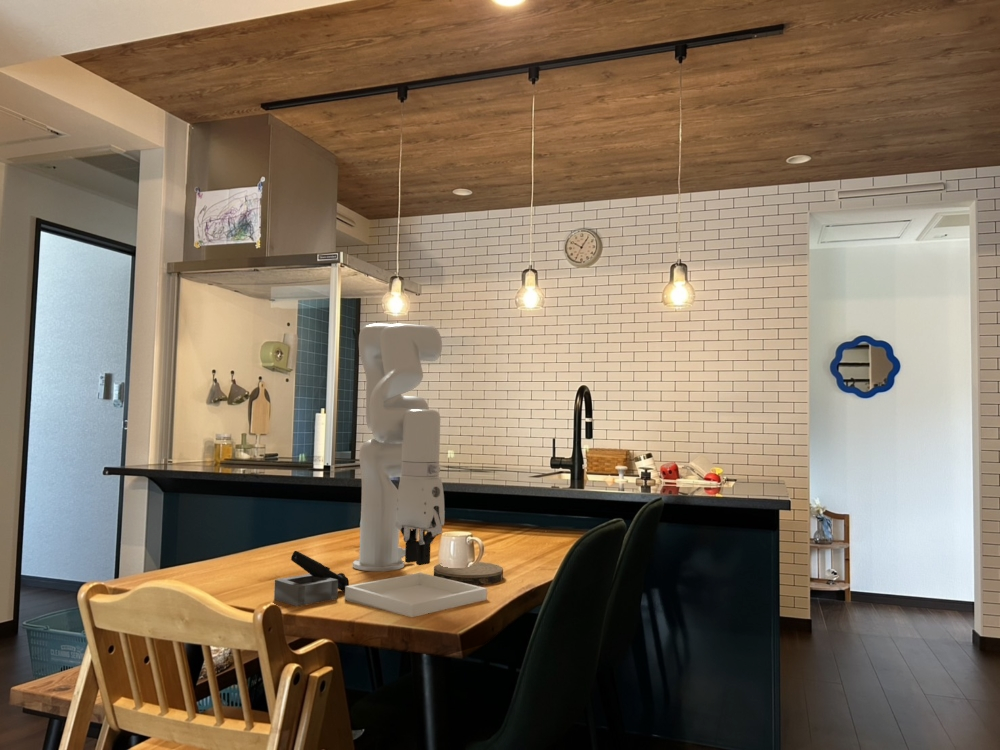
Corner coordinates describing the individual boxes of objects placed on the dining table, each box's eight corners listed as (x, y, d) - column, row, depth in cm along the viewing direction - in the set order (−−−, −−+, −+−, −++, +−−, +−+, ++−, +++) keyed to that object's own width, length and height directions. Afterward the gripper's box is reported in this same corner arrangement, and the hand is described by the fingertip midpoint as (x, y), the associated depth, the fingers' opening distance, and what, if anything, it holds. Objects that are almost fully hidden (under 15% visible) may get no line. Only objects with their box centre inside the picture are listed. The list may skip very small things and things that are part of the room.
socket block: (313, 592, 159) (314, 573, 159) (337, 600, 153) (338, 579, 153) (274, 600, 152) (275, 579, 152) (297, 607, 146) (298, 586, 147)
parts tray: (419, 586, 167) (420, 572, 167) (486, 603, 154) (487, 588, 154) (344, 601, 152) (345, 586, 152) (411, 621, 139) (412, 604, 139)
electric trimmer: (283, 561, 152) (291, 547, 153) (337, 588, 162) (345, 574, 163) (292, 567, 149) (301, 552, 150) (347, 594, 159) (355, 579, 160)
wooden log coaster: (465, 571, 186) (465, 558, 187) (516, 581, 176) (517, 568, 177) (418, 581, 174) (419, 567, 174) (471, 592, 164) (471, 578, 164)
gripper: (461, 472, 152) (459, 566, 151) (407, 467, 162) (405, 555, 161) (434, 473, 146) (431, 571, 145) (380, 468, 157) (377, 559, 156)
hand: (417, 562), depth 153 cm, fingers closed
